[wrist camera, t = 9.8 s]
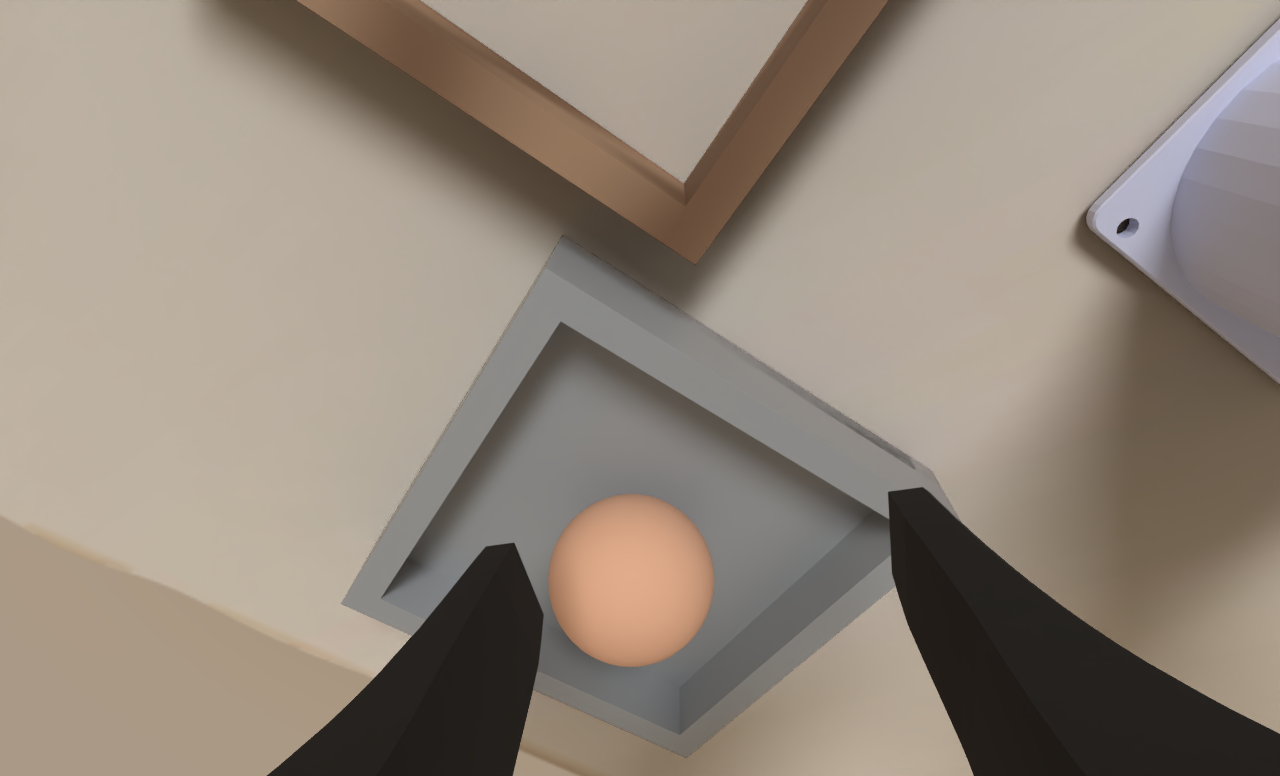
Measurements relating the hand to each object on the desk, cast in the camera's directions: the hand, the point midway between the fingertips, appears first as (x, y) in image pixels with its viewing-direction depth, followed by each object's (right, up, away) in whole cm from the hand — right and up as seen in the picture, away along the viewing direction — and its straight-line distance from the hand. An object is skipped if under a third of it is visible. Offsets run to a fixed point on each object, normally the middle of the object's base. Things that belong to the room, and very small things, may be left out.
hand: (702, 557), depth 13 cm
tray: (-1, -1, +10) cm, 10 cm away
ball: (-1, -2, +7) cm, 8 cm away
